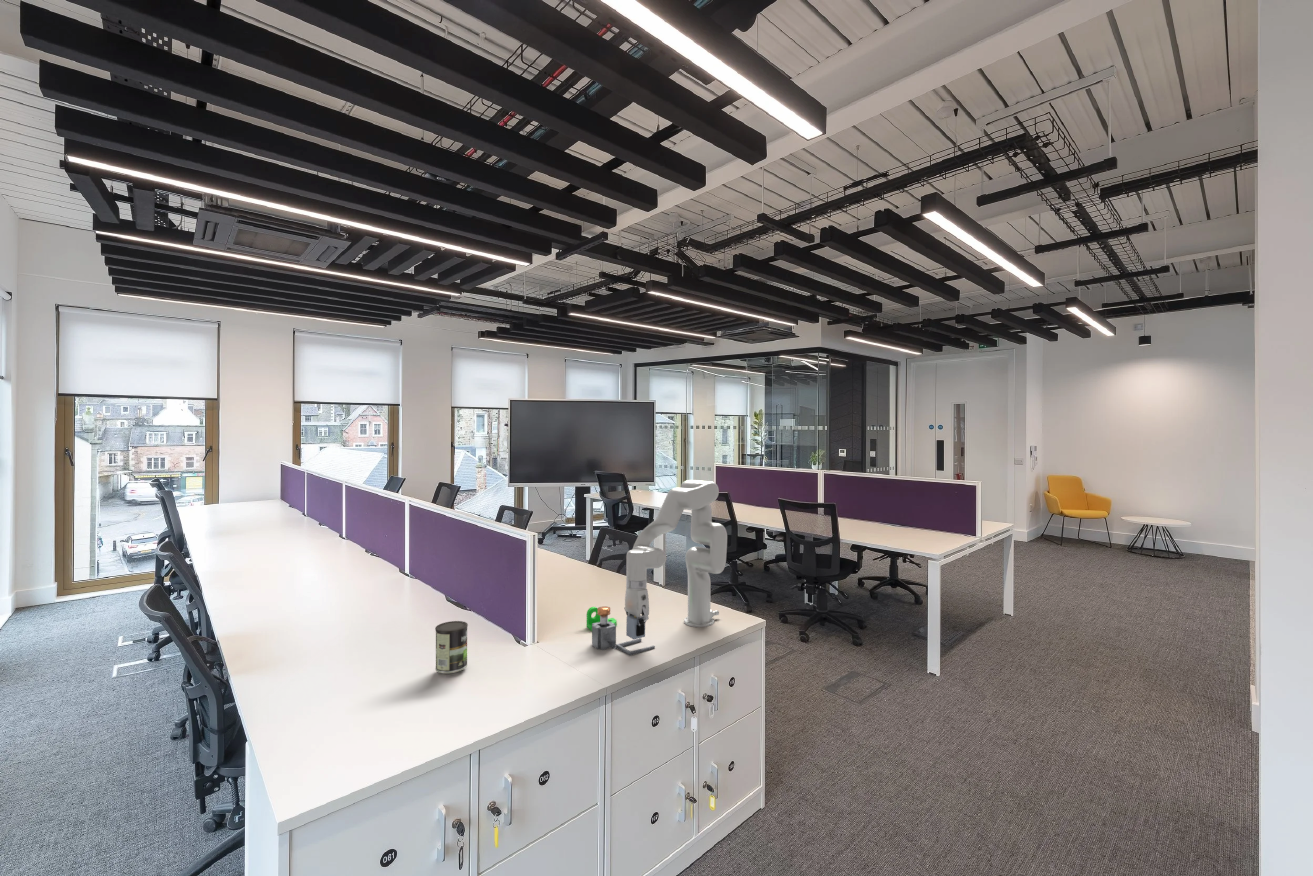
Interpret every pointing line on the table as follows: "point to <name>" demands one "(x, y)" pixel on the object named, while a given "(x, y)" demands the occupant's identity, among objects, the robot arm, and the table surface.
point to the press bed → (621, 645)
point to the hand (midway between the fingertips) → (635, 632)
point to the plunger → (604, 615)
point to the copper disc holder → (603, 636)
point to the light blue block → (633, 627)
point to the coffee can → (451, 646)
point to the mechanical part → (596, 618)
